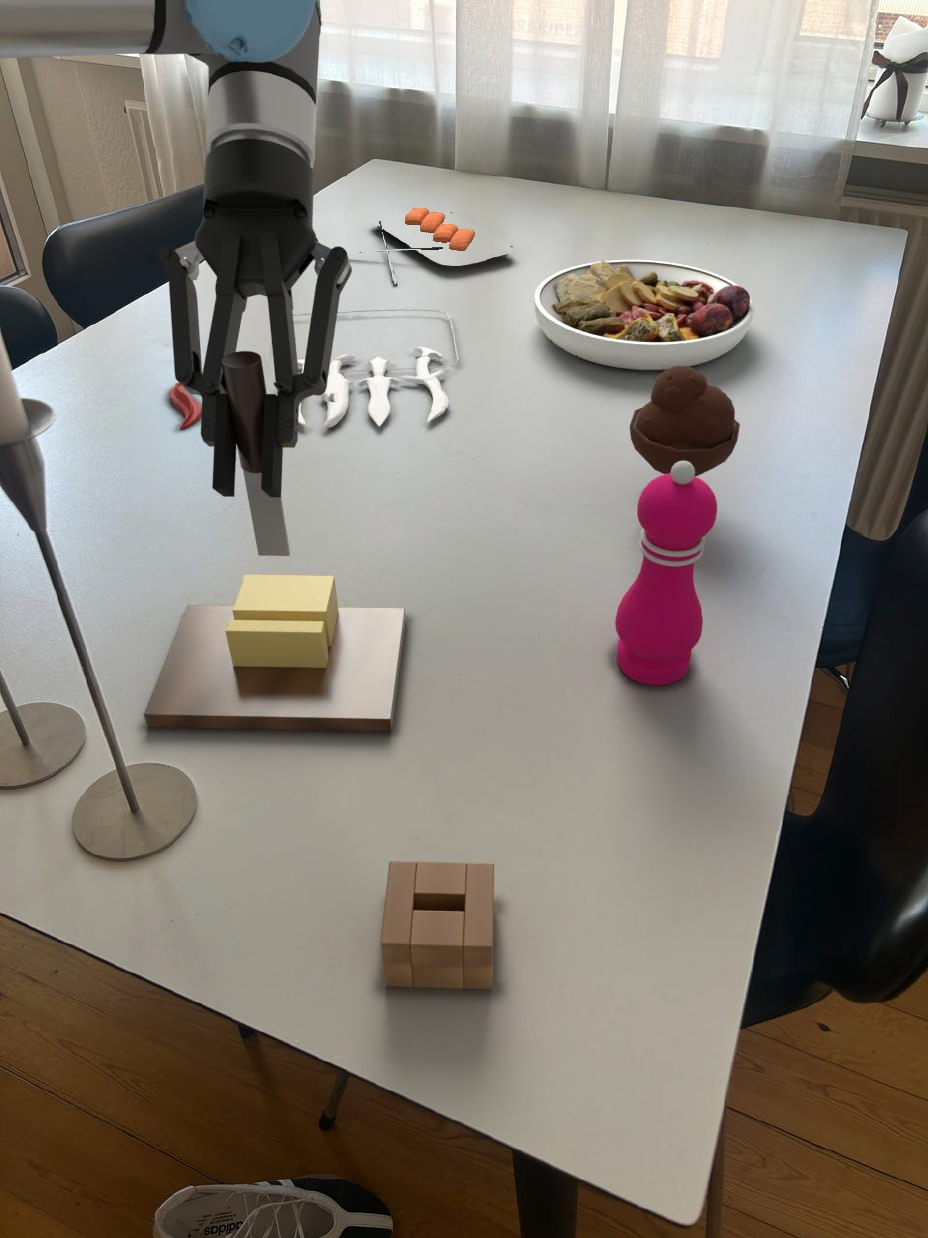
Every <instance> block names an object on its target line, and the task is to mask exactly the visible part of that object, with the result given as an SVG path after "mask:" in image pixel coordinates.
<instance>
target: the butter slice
mask: <svg viewBox="0 0 928 1238" xmlns="http://www.w3.org/2000/svg"><path fill="white" fill-rule="evenodd" d="M225 632H226V637H227V641H228V646H229V650H230V655H231V659H232V664H233V666H242V667H299V668H326V667H327V662H328V657H329V655H328V647H327V640H326V632H325V625H324V622H323V621H268V620H229V622H228V625H227V628H226V631H225Z"/></svg>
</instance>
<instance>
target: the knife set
mask: <svg viewBox="0 0 928 1238" xmlns="http://www.w3.org/2000/svg"><path fill="white" fill-rule="evenodd" d="M392 311H393V312H395V311H396V312H397V311H405V312H406V311H414V312H415V311H416V312H434V313H435V312H436V313H441V314H444V315H446V316H447V318H448V320H449V322H450V326H451V332H452V336H453V342H454V348H455V349H454V350H455V355H456V362H455V363H454V364H452V365H450V366H449V367H455V366H456V365H457V364H458V362H459V354H458V348H457V343H456V336H455V331H454V326H453V322H452V319H451V317H450V316H449V314H448V313H447V312H445V311H442V310H434V309H423V308H422V309H419V308H418V309H415V308H413V309H410V308H409V309H407V308H399V309H398V308H396V309H395V308H394V309H392V308H391V309H367V310H366V309H365V310H345V311H338V312H337V314H342V313H343V314H344V313H346V314H348V313H366V312H392ZM310 315H312V312H311V313H310V312H309V313H295V314H294V313H293V317H294V316H310ZM268 347H269V348H268V351H267V353H266V354H267V355H266V359H267V360H266V361H267V363H268V365H269V366H270V367H271V368H273V366H272V365H271V363H270V361H269V354H270V349H271V347H272V340H271V341H270V344H269V346H268ZM413 351H414V352H416V353H418V354H420V357H418V358H417V359H416V360H415V361H416V366H415V367H410V368H408V367H407V368H406V367H405V368H387V367H388V366H389V365H390V364H391V363H390V362H391V360H390V359H384V358H383V357H381V356H376V357H375V358H374V359H372V360H370V359H367V361H366V363H367V364H368V366H369V367H371V369H354V370H350V369H349V370H341V368H342V366H343V365H346V364H349V363H350V362H352V361H354V359H355V358H356V357H355V356H354V355H353V354H350V353H346V354H341V355H339V356H337V357H335V358H334V359H333V360H332V361H330V367H329V374H328V381H327V388H326V391H325V392H324V394H322V395H320V396H319V398H320V400H322V401H323V402H326V406H327V412H326V420H325V422H324V424H323V425H322V428H333V427H335V426H337V424H339V422H340V421H341V420H342V419H343V418H344V416H345V414H346V412H347V410H348V407H349V401H350V400H349V393H350V387H352V386H353V385H354V382H353V381H351V380H349V379H347V378H345V376H344V375H343V374H342V373H354V372H355V373H356V372H358V373H359V372H372V374H373V377H366V378H363V379H361V380H360V381H358V384H357V385H358V387H360V388H361V387H363V386H366V385H367V387H368V390H369V392H370V399H369V401H368V405H367V413H368V414H369V417H370V418H371V420H373V421H374V423H375V424H376V425H377V426H378V427H381V426H382V425H383V423H384V422H385V421H386V419H387V418H388V417H389V415H390V413H391V404H390V401H389V397H388V393H389V390H390V387H391V385H392V384H394V385H396V386H399V385H400V383H401V382H400V381H399V380H398V379H396V378H395V377H391V376H384V375H385V372H386V371H408V370H409V371H410V370H415V371H416V376H412V375H403V376H400V377H399V379H400V380H403V381H405V382H408V383H413V384H419V385H425V386H426V387H427V388H428V389H429V391H430V394H431V396H432V404H431V408H430V413H429V414H428V416H427V421H426V423H429V422H431V421H433V420H435V419H436V418H438V417H439V416H441V415H443V414H444V413H445V412H446V410H447V408H448V407H449V397H448V395H447V394H446V392H445V391H444V390H443V388H442V385H441V384H442V383H441V382H440V380H439V379H440V378H442V376H444V374H445V371H444V370H443V369H447V368H448V366H429V364H430V362H431V360H432V359H431V358H435V359H437V360H441V359H443V358H444V356H443V354H442V353H440V352H439V351H437V350H434V349H431V348H428V347H424V346H416V347H414V348H413ZM297 362H298V367H302V368H301V369H302V370H301V373H303V369H304V363H305V358H302V359H297ZM429 369H439V370H437V371H436V372H432V373H430V371H429ZM298 425H301V426H304V427H306V426H307V423H306V421H305V418H304V416H303V415H302V401H301V402H300V405H299V418H298Z"/></svg>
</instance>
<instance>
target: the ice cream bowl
mask: <svg viewBox="0 0 928 1238" xmlns="http://www.w3.org/2000/svg"><path fill="white" fill-rule="evenodd" d="M735 409H736V408H735V406H734V403H733V401H732V399H731V398H730V397H729V396H728V395H727V393H726V392H724V391H723V390H722V389H721V388H719V387H718V386H715V385H711V384H708V381H707V377H706V376H705V375H704V374H703V373H702V372H700V371H699V370H697V369H695V368H693V367H691V366H674V367H671V368H669V369H666V370H663V372H662V373H660V374H659V375H658V376H657V378H656V379H655V381H654V383H653V387H652V390H651V395H650V401H649V402H647V403H646V404H644V405H643V406H642V407H640V408H637V409H634V412H633V415H632V418H631V421H630V424H629V432H630V433H629V434H630V441H631V443H632V445H633V447H634V451H636V452H637V453H638V454H639V455H640V456H641V458H643V459H644V461H646V462H647V463H648V464H649V466H651V468H652V469H653V470H654V471H656V472H658V473H660V474H662V475H664V474H668V473H671V469H672V467H673V465H674V464H675V463H677V462H679V461H688V462H690V463H691V464H692V465H693V466H694V469H695V477H699V476H701V475H702V474H704V473H707V472H709V471H711V470H713V469H715V468H716V467H718V466H720V465H722V464H724V463H725V462H727V460H728V459H729V457H730V456H731V455H732V454H733V452H734V449H735V447H736V444H737V443H738V438H739V433H740V427H741V423H740V422H738V421H737V419H736V410H735Z"/></svg>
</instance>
